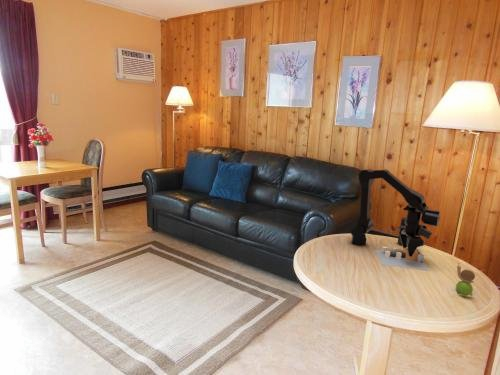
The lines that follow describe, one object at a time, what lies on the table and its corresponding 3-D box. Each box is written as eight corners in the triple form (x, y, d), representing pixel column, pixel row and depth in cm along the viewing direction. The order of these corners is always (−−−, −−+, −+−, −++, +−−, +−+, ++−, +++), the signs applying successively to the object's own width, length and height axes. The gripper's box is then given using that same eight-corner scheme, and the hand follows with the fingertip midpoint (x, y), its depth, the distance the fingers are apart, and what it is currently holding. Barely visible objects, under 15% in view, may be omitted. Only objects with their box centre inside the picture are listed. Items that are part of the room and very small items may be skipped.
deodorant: (397, 247, 174) (402, 219, 171) (396, 243, 180) (400, 216, 177) (410, 249, 173) (415, 221, 169) (408, 245, 178) (413, 218, 175)
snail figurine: (453, 288, 135) (459, 260, 132) (472, 294, 131) (478, 265, 128) (450, 293, 130) (456, 264, 128) (470, 299, 126) (476, 270, 124)
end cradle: (417, 262, 155) (418, 255, 154) (411, 255, 162) (412, 248, 162) (422, 262, 154) (424, 255, 154) (417, 255, 162) (418, 248, 161)
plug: (385, 256, 158) (387, 248, 158) (384, 253, 162) (385, 245, 161) (417, 260, 157) (418, 252, 156) (414, 257, 160) (415, 249, 160)
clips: (384, 257, 157) (385, 251, 157) (381, 252, 164) (382, 246, 163) (400, 259, 156) (401, 253, 156) (397, 254, 163) (397, 248, 162)
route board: (382, 267, 150) (382, 265, 149) (373, 251, 167) (374, 249, 167) (429, 273, 147) (430, 270, 147) (416, 256, 164) (417, 254, 164)
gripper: (439, 229, 145) (432, 263, 148) (424, 216, 163) (418, 247, 166) (412, 226, 146) (406, 259, 150) (400, 214, 165) (395, 244, 168)
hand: (407, 252), depth 158 cm, fingers open, 9 cm apart
